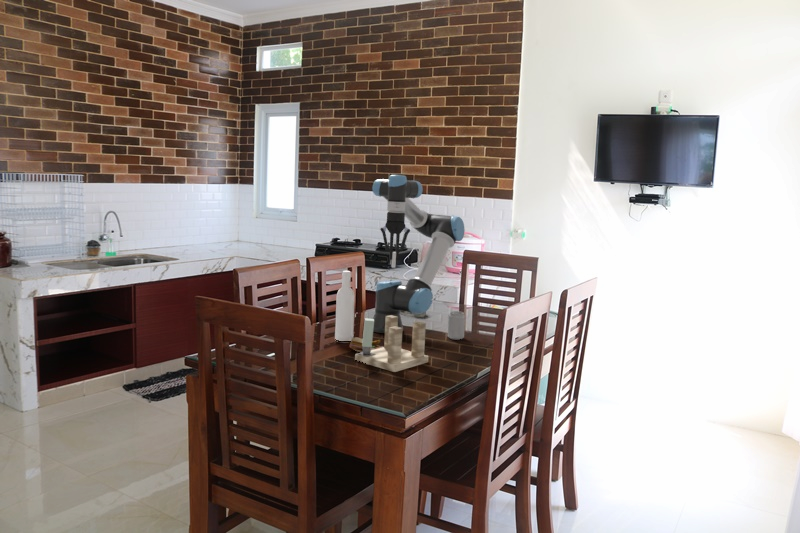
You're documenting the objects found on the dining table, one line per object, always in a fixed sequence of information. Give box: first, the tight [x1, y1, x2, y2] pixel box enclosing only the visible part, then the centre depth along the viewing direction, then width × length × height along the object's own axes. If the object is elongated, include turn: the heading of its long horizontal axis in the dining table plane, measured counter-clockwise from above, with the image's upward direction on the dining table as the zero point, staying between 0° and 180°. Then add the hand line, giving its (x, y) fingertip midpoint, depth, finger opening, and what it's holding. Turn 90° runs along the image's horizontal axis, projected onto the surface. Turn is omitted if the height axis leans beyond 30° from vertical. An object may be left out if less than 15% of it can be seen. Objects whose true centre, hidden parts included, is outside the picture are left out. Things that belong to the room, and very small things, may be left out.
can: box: [446, 310, 466, 341], centre depth 289 cm, size 8×8×12 cm
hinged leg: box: [362, 317, 374, 355], centre depth 245 cm, size 4×4×13 cm
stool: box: [354, 315, 429, 373], centre depth 246 cm, size 20×20×16 cm
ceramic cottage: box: [400, 310, 427, 318], centre depth 338 cm, size 16×16×15 cm
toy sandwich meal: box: [348, 336, 384, 353], centre depth 261 cm, size 12×14×5 cm
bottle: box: [334, 270, 356, 341], centre depth 274 cm, size 8×8×30 cm
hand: (393, 267), depth 273 cm, fingers closed
